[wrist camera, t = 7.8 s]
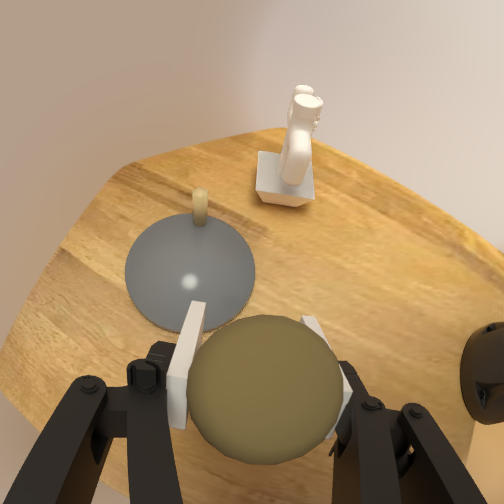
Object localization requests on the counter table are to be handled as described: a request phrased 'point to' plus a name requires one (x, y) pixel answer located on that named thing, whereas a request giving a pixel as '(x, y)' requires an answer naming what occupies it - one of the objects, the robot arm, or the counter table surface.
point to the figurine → (291, 155)
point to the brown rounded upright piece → (264, 389)
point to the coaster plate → (190, 269)
